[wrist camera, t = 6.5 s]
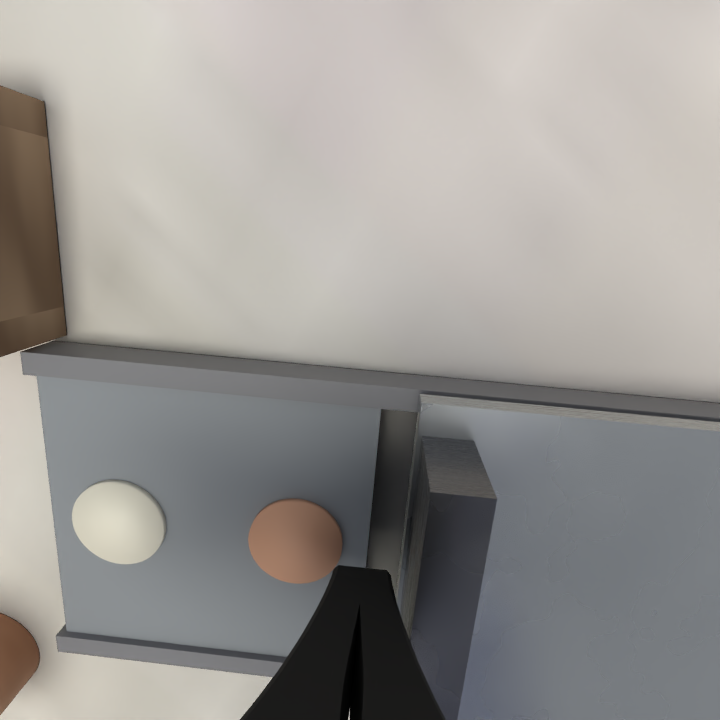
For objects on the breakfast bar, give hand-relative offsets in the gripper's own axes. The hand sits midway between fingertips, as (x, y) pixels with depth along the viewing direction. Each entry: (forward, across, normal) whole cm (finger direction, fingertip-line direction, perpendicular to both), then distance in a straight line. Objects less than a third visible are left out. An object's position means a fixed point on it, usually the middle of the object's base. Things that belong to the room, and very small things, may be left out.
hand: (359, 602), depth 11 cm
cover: (+2, -6, 0) cm, 6 cm away
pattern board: (+3, -2, 0) cm, 4 cm away
